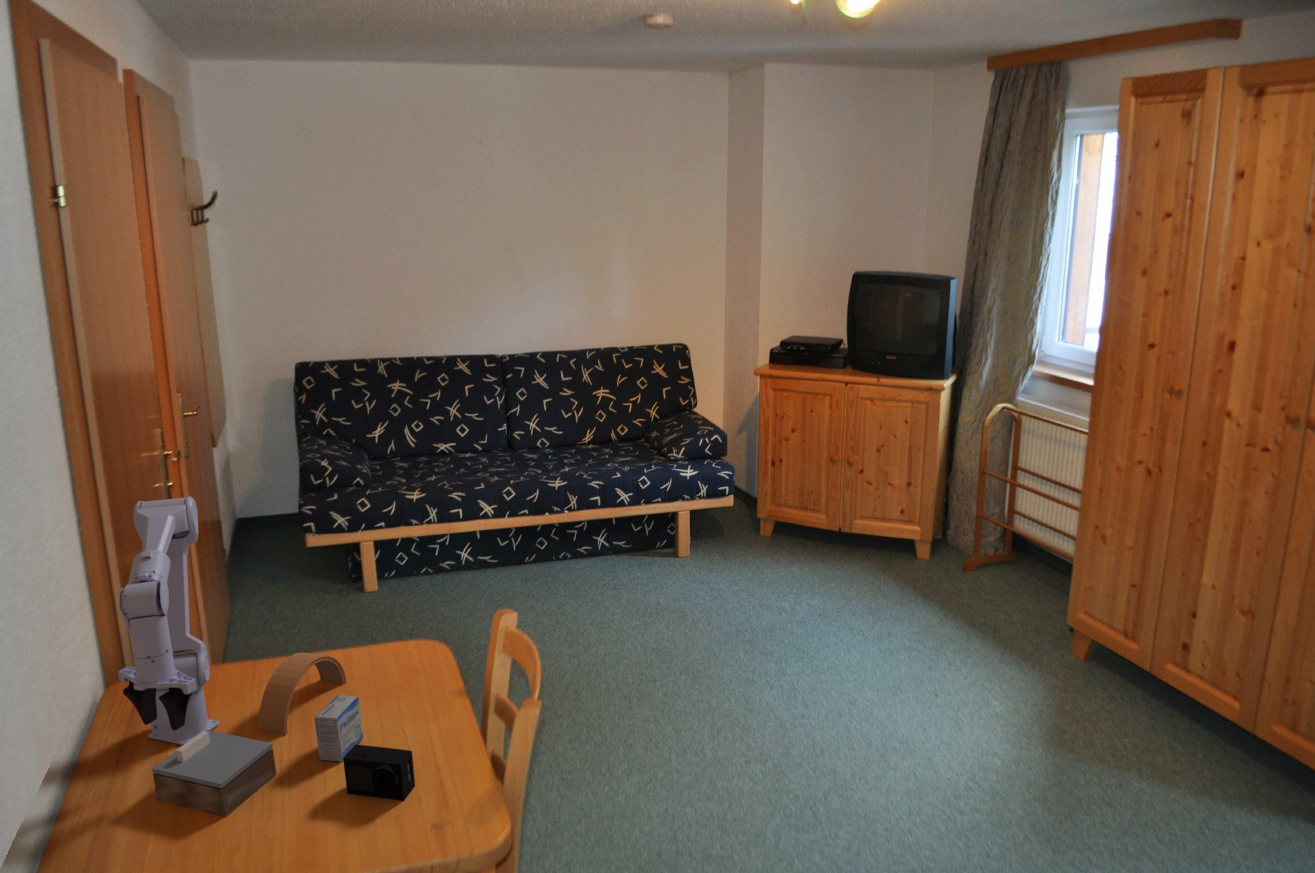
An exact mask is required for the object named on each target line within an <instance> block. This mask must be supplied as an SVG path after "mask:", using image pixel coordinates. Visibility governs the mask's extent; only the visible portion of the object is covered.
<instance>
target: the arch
mask: <svg viewBox="0 0 1315 873" xmlns="http://www.w3.org/2000/svg"><path fill="white" fill-rule="evenodd" d="M313 666H315V667H316V669H317V671H318V673H319V680H320V683H321V682H323V683H328V684H333V685H334V684H335V685H343V686H344V685H345V684H347V683H348V681H347V676H346V673H345V670H344V668H343V665H342V664H341V662H339V660H338V659H336V658H335V657H334V656H330V655H323V654H316V653H310V652H296V653H293V654H292V655H290V656H288V657H287V658H286V659H284V660H283V661H282V662H281V663H280V664H279V665H278V667H276V669H275V670H274V672H273V673H272V675H271V676H270V678H269V680H268V682H267V685H266V686H265V689H264V692H263V695H262V699H261V702H260V707H259V712H258V731H259V732H261V733H268V734H273V735H278V736H279V735H280V736H286V735H287V734H288V718H289V711H290V710H289V709H290V705H291V702H292V698H293V696H294V693H295V690H296V688H297V686H298V684H299V683H300V681H301V679H302V678H303V676H304V675H305V674H306V673H307V671H308V670H310V668H312V667H313Z"/></svg>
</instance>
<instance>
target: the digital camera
mask: <svg viewBox="0 0 1315 873" xmlns="http://www.w3.org/2000/svg"><path fill="white" fill-rule="evenodd" d="M413 759H414V758H413V751H412V750H409V749H408V750H407V749H401V748H392V747H383V746H375V745H374V746H373V745H365V744H355V745H354V746H353V748H352V749H351V750H350V751H349V752H348V753H347V754H346V755H345V757H344V758H343V761H342V762H343V769H344V776H345V777H344V778H345V786H346V794H347V795H350V796H351V795H352V796H360V797H367V798H368V797H369V798H374V799H375V798H376V799H383V800H390V801H392V800H393V801H399V802H405V801H406V799H407V797H408V796H409V795H410V794H411V792H412V791H413V790H414V788H415V787H416V781H415V770H414V760H413Z"/></svg>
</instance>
